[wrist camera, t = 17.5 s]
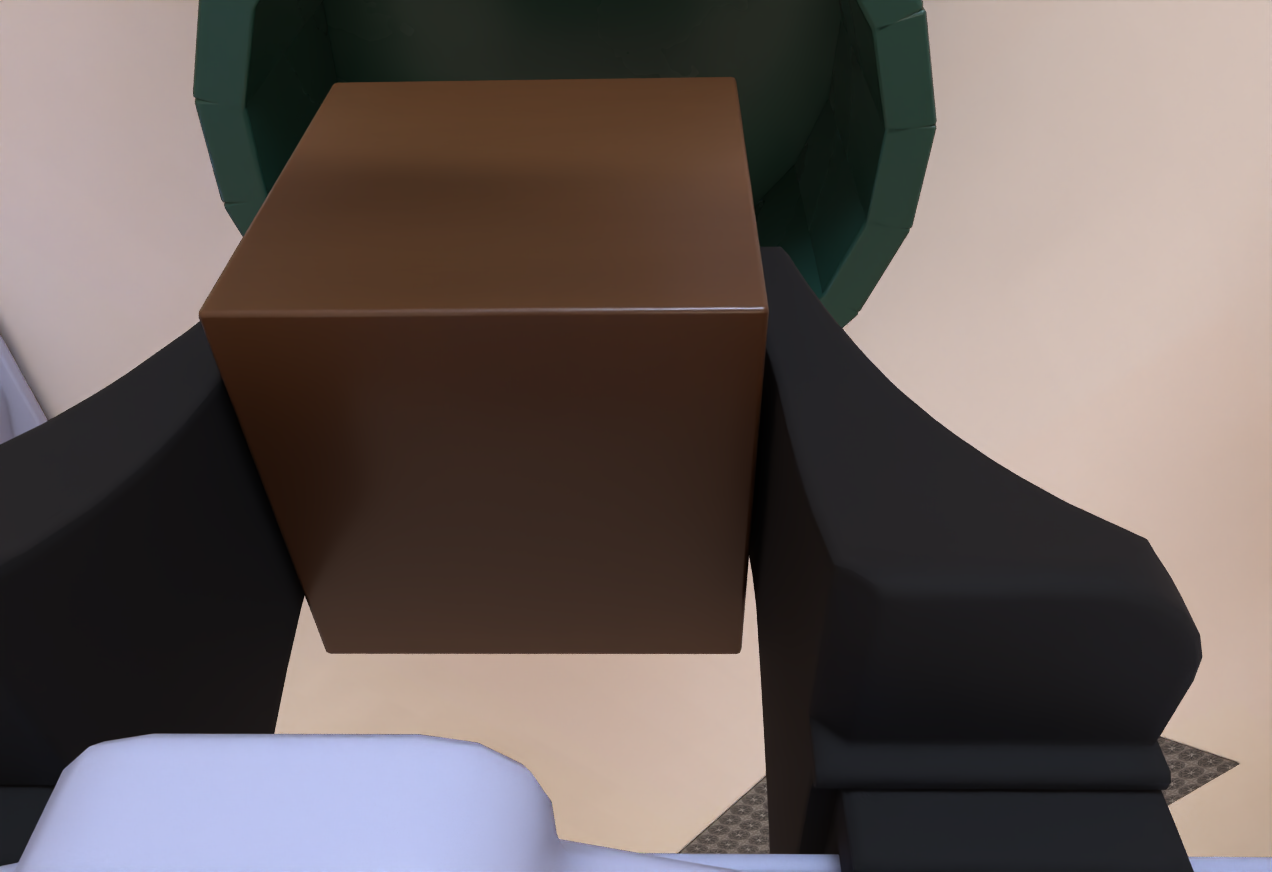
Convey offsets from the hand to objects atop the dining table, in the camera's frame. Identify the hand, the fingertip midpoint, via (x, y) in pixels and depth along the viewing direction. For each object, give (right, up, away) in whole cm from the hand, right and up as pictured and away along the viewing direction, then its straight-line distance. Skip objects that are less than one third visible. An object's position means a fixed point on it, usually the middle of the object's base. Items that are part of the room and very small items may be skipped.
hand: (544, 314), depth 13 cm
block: (0, +1, +1) cm, 1 cm away
